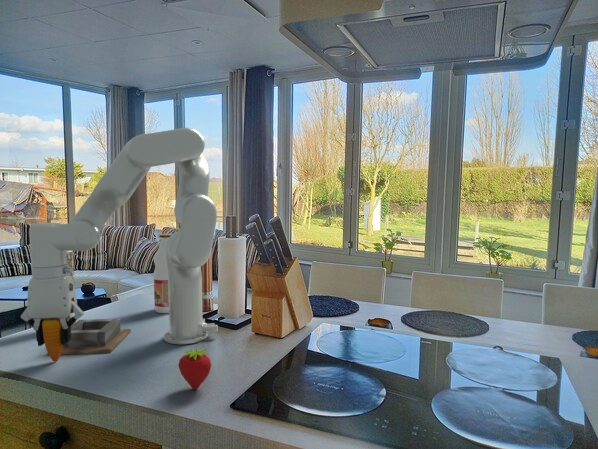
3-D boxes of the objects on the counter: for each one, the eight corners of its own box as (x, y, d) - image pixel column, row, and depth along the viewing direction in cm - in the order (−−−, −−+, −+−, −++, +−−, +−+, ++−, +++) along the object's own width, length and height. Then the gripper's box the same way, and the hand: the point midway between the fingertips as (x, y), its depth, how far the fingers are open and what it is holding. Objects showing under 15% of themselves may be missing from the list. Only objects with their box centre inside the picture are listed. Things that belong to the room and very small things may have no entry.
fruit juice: (175, 314, 141) (173, 235, 139) (150, 313, 142) (147, 235, 140) (185, 306, 150) (183, 232, 148) (161, 306, 151) (159, 232, 149)
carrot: (41, 367, 98) (37, 307, 97) (47, 359, 103) (43, 301, 101) (63, 364, 99) (60, 305, 98) (69, 356, 104) (65, 300, 103)
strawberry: (190, 379, 91) (189, 336, 91) (217, 385, 88) (216, 341, 88) (172, 391, 86) (171, 346, 85) (200, 398, 83) (199, 351, 82)
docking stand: (130, 332, 123) (130, 316, 122) (110, 352, 107) (109, 334, 106) (76, 333, 121) (75, 317, 121) (47, 354, 105) (47, 336, 105)
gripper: (92, 268, 104) (95, 336, 105) (23, 270, 102) (27, 339, 104) (78, 274, 96) (82, 347, 98) (4, 276, 95) (9, 350, 96)
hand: (54, 342), depth 101 cm, fingers closed on carrot, 4 cm apart
